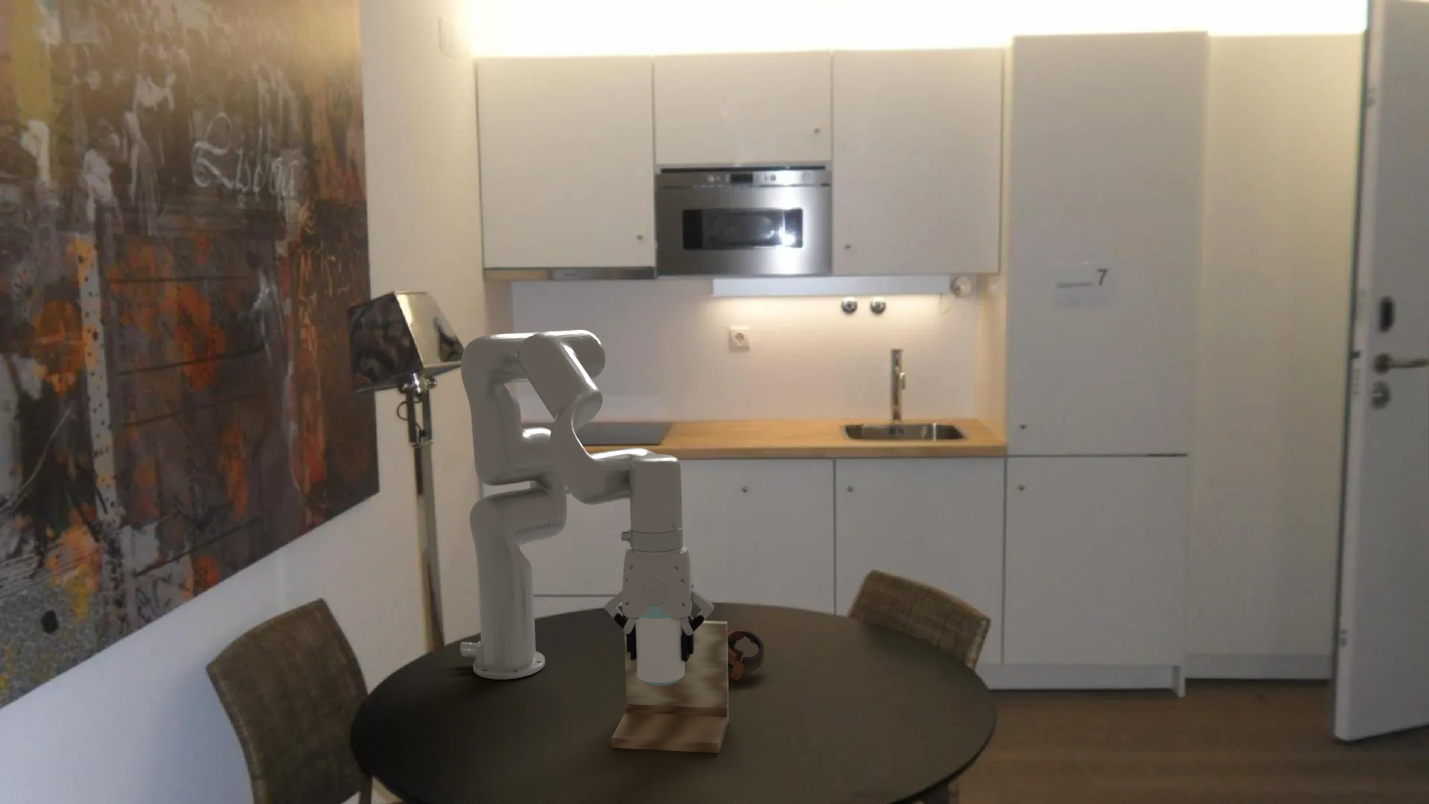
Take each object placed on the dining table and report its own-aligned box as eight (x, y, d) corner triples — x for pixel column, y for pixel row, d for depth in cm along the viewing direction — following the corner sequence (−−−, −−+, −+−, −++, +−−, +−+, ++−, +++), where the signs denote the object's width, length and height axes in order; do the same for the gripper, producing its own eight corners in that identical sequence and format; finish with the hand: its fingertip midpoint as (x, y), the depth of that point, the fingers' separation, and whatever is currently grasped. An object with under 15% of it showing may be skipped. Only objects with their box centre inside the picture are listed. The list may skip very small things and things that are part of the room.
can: (675, 689, 150) (672, 608, 148) (629, 684, 152) (627, 604, 151) (691, 672, 156) (689, 594, 155) (648, 667, 159) (645, 591, 157)
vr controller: (755, 660, 190) (768, 629, 185) (755, 701, 182) (768, 669, 177) (691, 646, 189) (702, 615, 184) (688, 687, 181) (700, 655, 176)
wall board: (611, 747, 154) (608, 642, 152) (628, 716, 165) (625, 618, 163) (718, 752, 152) (717, 646, 150) (728, 720, 163) (727, 621, 161)
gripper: (592, 545, 150) (596, 665, 151) (712, 546, 147) (715, 668, 149) (605, 533, 157) (609, 647, 159) (719, 534, 154) (722, 650, 156)
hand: (660, 656), depth 154 cm, fingers closed on can, 7 cm apart
